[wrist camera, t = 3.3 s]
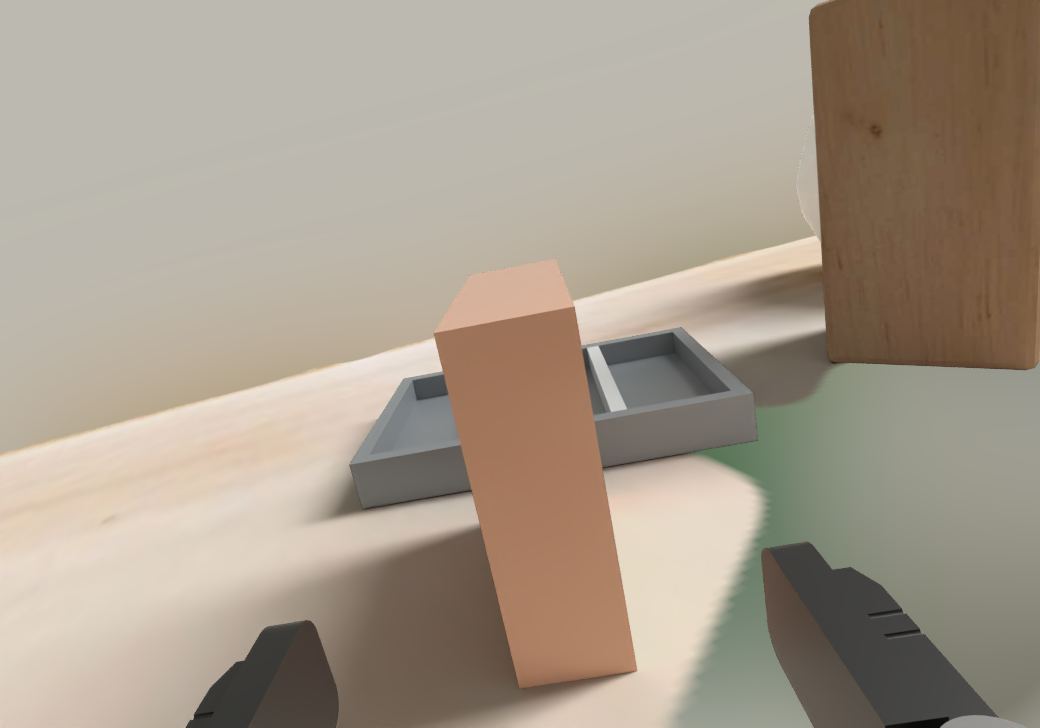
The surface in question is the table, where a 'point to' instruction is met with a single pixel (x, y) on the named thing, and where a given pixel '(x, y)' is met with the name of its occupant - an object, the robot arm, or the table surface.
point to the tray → (615, 404)
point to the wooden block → (929, 180)
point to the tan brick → (536, 472)
